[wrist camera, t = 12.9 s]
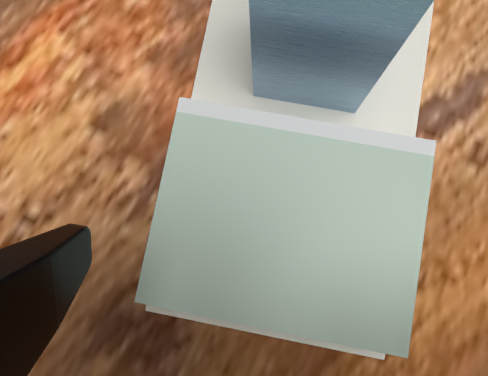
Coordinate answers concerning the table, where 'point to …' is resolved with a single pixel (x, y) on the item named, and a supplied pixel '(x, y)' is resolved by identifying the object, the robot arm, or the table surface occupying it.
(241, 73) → the vise bed
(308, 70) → the slate-blue block
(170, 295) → the block
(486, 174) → the table surface
